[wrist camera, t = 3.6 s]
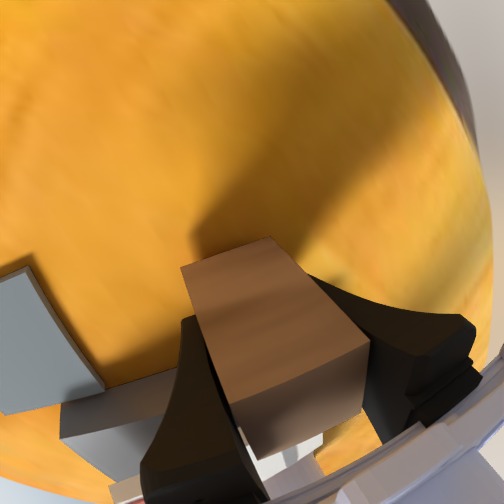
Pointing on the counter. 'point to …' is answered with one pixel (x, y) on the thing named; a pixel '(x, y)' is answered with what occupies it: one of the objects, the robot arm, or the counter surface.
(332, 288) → the robot arm
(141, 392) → the switch housing
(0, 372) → the mat
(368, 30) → the counter surface
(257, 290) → the brown rectangular block
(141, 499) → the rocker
